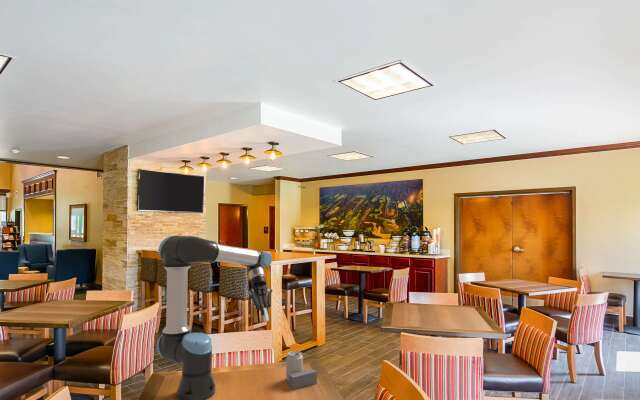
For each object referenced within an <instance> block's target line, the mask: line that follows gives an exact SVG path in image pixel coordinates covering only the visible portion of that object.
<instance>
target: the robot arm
mask: <svg viewBox="0 0 640 400" xmlns="http://www.w3.org/2000/svg"><path fill="white" fill-rule="evenodd" d="M157 250H158V257H159V258H160V259H161V260H162V261H163V265H162V266H163V268H164V269H165V271H166V307H165V308H166V310H165V311H166V312H165V313H166V315H165V316H166V319H165V320H166V321H165V323H166V324H165V327H164V328H163V329H162V332H161V335H160V336H159V338H158V339H157V341H156V352H157V354H158V355H159V356H160V357H161V358H162V359H164V360H165V361H167V362H173V363H175V364H178V365H181V378H180V381H179V384H178V387H177V390H176V397H177V399H178V400H206V399H209V398H211V397H212V396H213V395H215V394H216V383H215V380H214V377H213V374H212V361H213V360H212V359H213V358H212V356H213V355H212V354H213V345H212V338H211V336H210V335H208V334H207V333H203V332H192V331H191V329H192V328H191V326H189V325H188V288H189V287H188V285H189V283H188V280H189V279H188V277H189V273H188V272H189V269H190V268H191V267H192V264H203V263H204V264H213V263H215V262H218V263H226V264H227V263H229V264H236V265H237V264H238V265H240V266H243V267H244V268H245V267H246V268H247V269H248V273H249V278H250V284H251V289H249V290H248V291H247V293H248V295H250V298H251V300H252V302H253V304H254V306H255V309H257V310H258V311H260V315H261V316H262V319H263V323H268V322H269V321H270V318H269V315H270V312H269V311H270V310H269V309H270V308H271V307H272V293H273V289H272V288H271V289H270V288H269V287H268V285H267V280H266V275H265V271H264V268H266V267H267V268H268V267H270V266H271V265H272V263H273V255H272V253H271V252H269V251H265V250H264V251H261V250H255V249H250V248H244V247H237V246H230V245H225V244H218V242H216V241H215V240H210V239H205V238H203V237H202V238H201V237H198V236H194V235H179V234H177V235H176V234H175V235H170V236H169V235H168V236H167V237H165V238H164V239H163V240H162V241H160V244H159V245H158V249H157Z"/></svg>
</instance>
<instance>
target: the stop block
mask: <svg viewBox="0 0 640 400" xmlns="http://www.w3.org/2000/svg"><path fill="white" fill-rule="evenodd" d="M315 383H316V384H318V371H317V370H315V369H313V368H310V369H305V370H303V371H301V372H297V373H293V374H289V381H288V387H289V388H290V389H292V390H296V389H300V388H305V387H308V386H311V384H312V385H315Z"/></svg>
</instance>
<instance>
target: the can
mask: <svg viewBox="0 0 640 400" xmlns="http://www.w3.org/2000/svg"><path fill="white" fill-rule="evenodd" d="M285 362H286V364H285V365H286V367H285V369H286V371H285V372H286V373H285V374H286V375H285V376H286V377H285V378H286V380H287V381H288V382H289V374H293V373H297V372H301V371H304V356H303V353H302V352H301V351H297V350H293V351H288V353H287V355H286V360H285Z"/></svg>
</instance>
